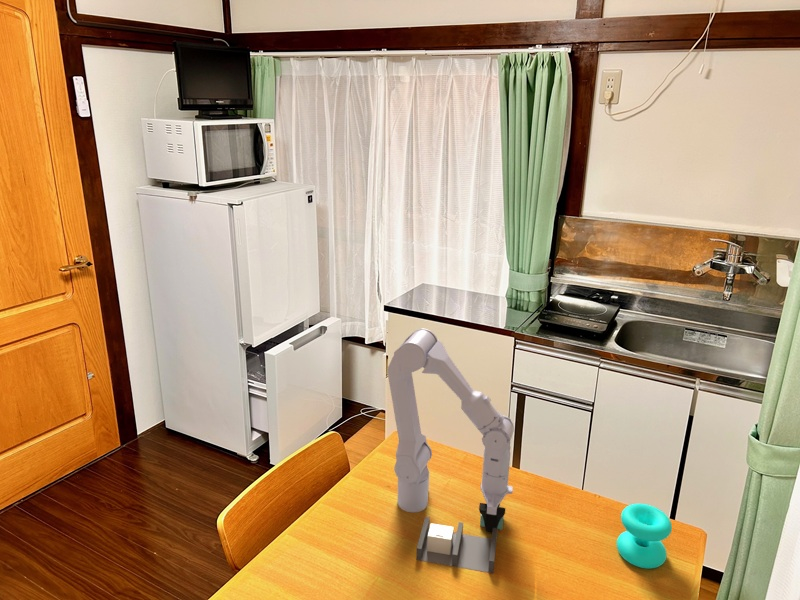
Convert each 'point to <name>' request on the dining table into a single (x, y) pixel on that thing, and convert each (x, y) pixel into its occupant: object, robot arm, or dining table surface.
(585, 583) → the dining table surface
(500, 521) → the teal box
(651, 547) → the turquoise spool
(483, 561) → the gray shelf unit
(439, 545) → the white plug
